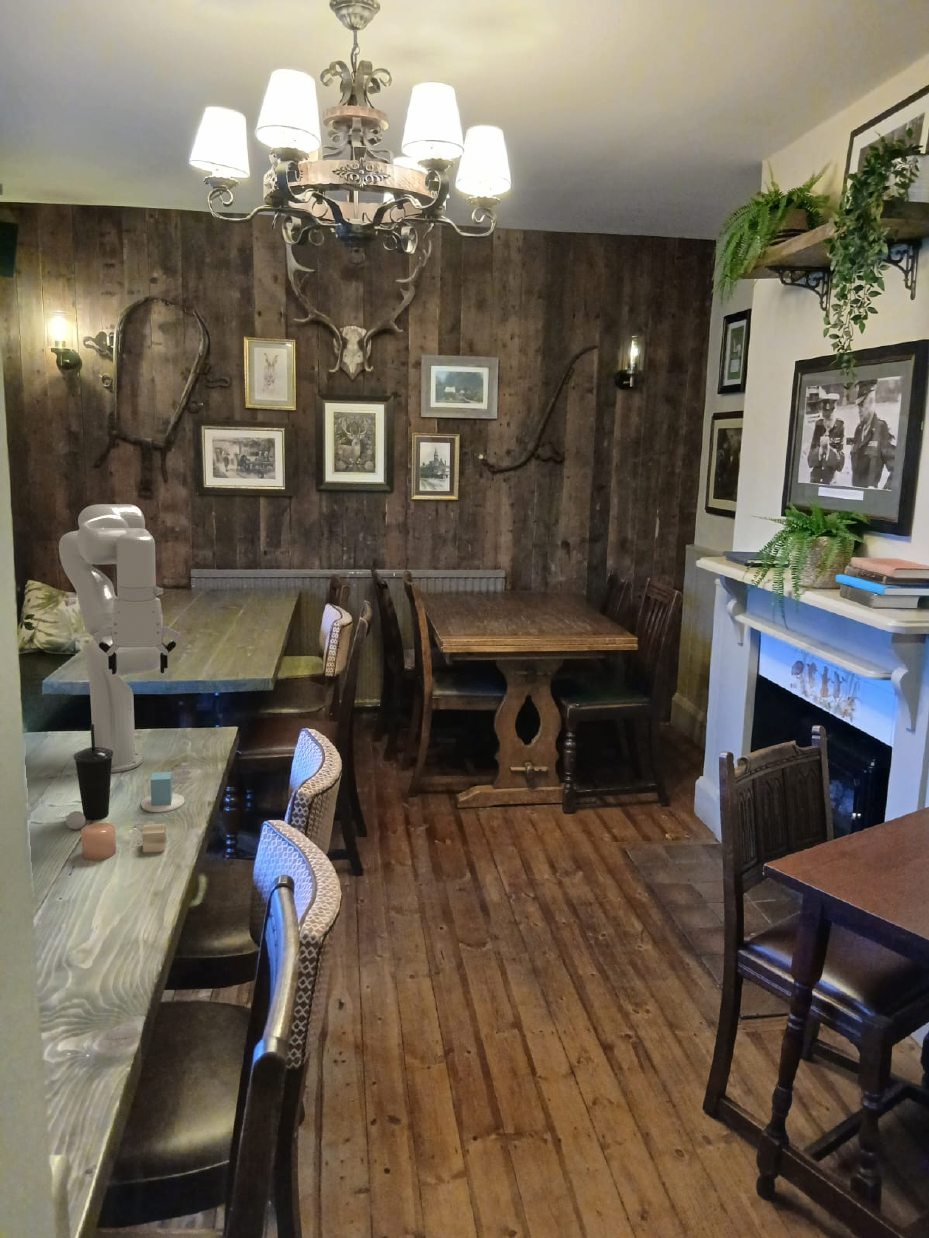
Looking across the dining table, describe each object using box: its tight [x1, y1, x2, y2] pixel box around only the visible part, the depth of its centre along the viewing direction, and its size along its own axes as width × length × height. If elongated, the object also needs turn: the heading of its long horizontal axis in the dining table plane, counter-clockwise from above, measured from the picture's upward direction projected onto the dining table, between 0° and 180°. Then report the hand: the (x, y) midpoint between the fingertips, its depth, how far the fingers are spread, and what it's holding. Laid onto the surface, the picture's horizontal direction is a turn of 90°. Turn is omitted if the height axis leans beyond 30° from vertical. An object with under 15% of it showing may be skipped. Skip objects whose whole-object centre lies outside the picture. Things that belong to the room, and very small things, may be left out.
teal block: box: [150, 771, 173, 806], centre depth 190 cm, size 4×4×6 cm
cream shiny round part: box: [140, 792, 185, 813], centre depth 191 cm, size 9×9×1 cm
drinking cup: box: [72, 723, 114, 821], centre depth 182 cm, size 8×8×20 cm
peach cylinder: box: [80, 822, 117, 862], centre depth 168 cm, size 6×6×5 cm
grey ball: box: [65, 810, 86, 830], centre depth 178 cm, size 4×4×4 cm
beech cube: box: [142, 823, 167, 853], centre depth 171 cm, size 4×4×4 cm
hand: (138, 671), depth 187 cm, fingers open, 9 cm apart
